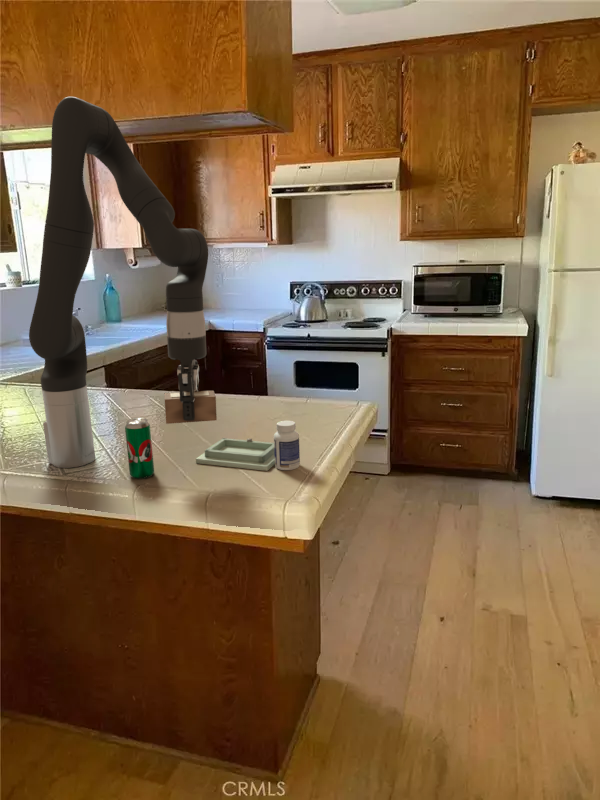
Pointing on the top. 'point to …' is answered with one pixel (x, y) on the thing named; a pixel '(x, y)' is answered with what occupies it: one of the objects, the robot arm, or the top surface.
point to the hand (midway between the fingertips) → (190, 415)
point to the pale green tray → (240, 454)
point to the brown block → (202, 407)
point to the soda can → (139, 448)
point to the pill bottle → (286, 446)
